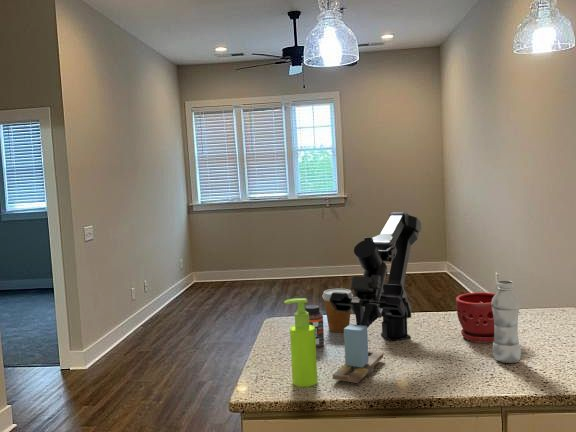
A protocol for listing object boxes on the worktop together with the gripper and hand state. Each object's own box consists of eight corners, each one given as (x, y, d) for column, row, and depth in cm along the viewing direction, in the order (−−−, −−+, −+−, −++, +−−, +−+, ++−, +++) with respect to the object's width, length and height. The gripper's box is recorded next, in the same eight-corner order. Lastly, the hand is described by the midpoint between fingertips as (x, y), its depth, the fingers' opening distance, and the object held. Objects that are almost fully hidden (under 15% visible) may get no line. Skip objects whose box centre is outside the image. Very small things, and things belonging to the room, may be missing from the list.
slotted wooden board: (360, 357, 137) (360, 349, 137) (383, 361, 134) (383, 352, 134) (332, 383, 121) (332, 374, 121) (358, 387, 118) (357, 378, 118)
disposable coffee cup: (336, 323, 170) (335, 287, 169) (360, 328, 163) (358, 290, 162) (317, 330, 163) (315, 292, 162) (341, 335, 156) (339, 296, 155)
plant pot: (480, 328, 157) (479, 289, 156) (516, 340, 145) (515, 297, 144) (447, 336, 151) (446, 295, 150) (481, 349, 139) (480, 305, 138)
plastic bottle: (509, 368, 125) (507, 286, 123) (486, 360, 131) (484, 281, 129) (527, 362, 128) (525, 282, 126) (504, 354, 134) (502, 278, 132)
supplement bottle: (322, 348, 146) (320, 309, 145) (301, 348, 147) (299, 309, 146) (325, 342, 151) (323, 303, 151) (305, 341, 153) (303, 303, 152)
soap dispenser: (287, 378, 126) (283, 297, 124) (315, 376, 126) (311, 295, 125) (289, 388, 120) (284, 303, 118) (319, 385, 120) (315, 300, 119)
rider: (351, 364, 129) (350, 324, 128) (368, 366, 127) (367, 325, 126) (345, 369, 126) (343, 328, 125) (362, 372, 124) (361, 330, 123)
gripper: (330, 261, 136) (313, 313, 127) (400, 264, 127) (387, 320, 118) (343, 285, 143) (328, 335, 134) (410, 289, 134) (399, 344, 125)
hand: (359, 333), depth 128 cm, fingers closed, pressing on rider
